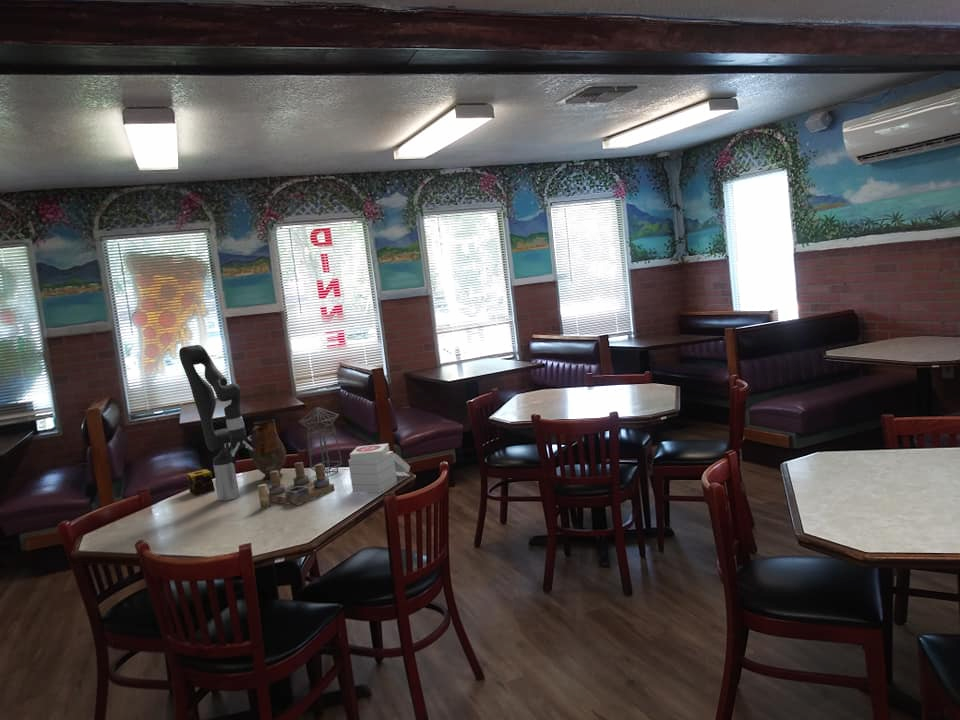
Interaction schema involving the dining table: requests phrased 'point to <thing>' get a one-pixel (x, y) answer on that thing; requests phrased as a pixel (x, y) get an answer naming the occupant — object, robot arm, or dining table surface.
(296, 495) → the stool
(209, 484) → the yellow and brown cube
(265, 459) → the pitcher
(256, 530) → the dining table surface
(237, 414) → the robot arm
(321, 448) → the geometric lantern
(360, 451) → the pizza box stack
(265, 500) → the loose leg
